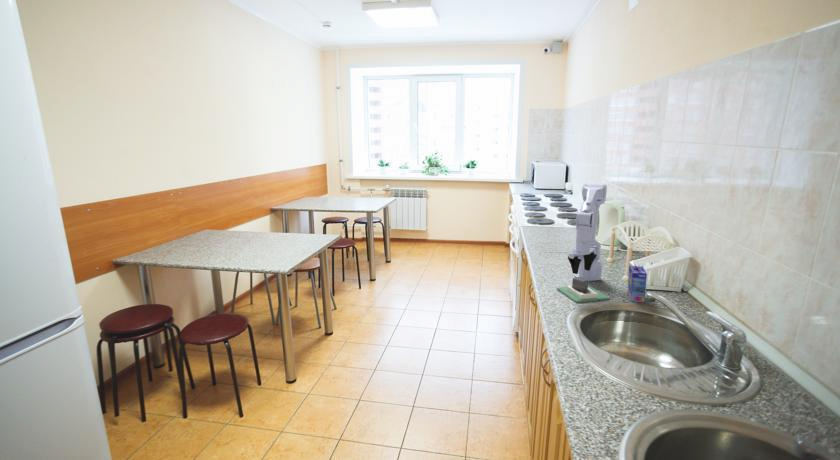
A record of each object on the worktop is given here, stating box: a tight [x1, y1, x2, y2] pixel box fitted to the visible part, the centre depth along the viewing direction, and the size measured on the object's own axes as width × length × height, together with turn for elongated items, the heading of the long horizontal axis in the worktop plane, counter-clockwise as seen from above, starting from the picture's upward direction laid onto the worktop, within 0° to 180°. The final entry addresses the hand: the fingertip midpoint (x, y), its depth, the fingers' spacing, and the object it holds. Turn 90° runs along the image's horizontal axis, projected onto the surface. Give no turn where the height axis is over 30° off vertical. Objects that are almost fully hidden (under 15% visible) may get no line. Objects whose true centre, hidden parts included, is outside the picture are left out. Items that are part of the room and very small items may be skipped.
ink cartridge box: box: [627, 262, 648, 303], centre depth 164 cm, size 10×6×14 cm, turn 161°
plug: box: [571, 276, 589, 294], centre depth 169 cm, size 4×6×6 cm, turn 32°
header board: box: [556, 284, 611, 304], centre depth 170 cm, size 15×15×3 cm
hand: (581, 271), depth 170 cm, fingers open, 7 cm apart
